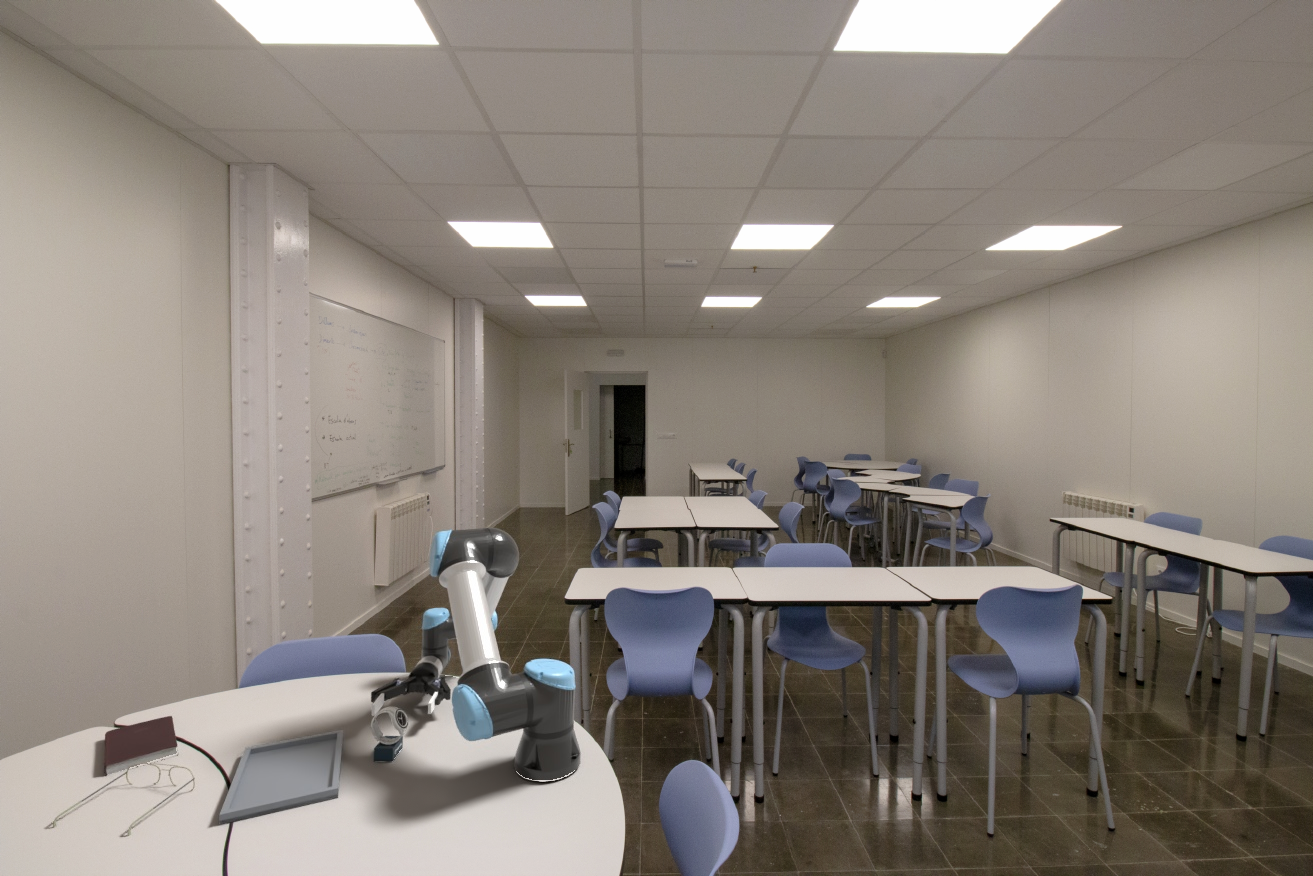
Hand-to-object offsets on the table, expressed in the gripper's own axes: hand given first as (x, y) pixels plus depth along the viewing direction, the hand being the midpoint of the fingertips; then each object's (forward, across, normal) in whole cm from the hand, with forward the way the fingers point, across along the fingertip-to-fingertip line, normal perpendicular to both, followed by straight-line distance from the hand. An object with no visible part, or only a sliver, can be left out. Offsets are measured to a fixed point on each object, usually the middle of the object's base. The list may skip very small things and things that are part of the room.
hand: (401, 709), depth 144 cm
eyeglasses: (+24, +44, -7) cm, 51 cm away
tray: (+16, +19, -6) cm, 25 cm away
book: (+2, +58, -7) cm, 59 cm away
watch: (+9, 0, -7) cm, 11 cm away
